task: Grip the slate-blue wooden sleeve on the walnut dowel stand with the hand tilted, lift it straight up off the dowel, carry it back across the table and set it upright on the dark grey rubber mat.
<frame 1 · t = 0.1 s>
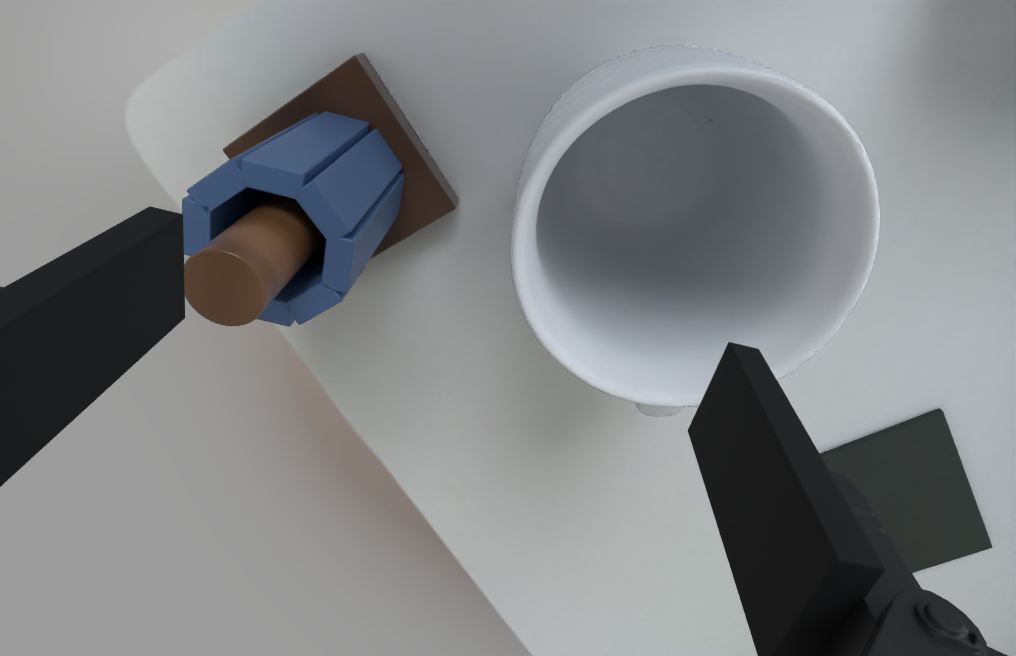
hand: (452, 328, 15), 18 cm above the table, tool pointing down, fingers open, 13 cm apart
dowel stand: (348, 171, 32), on the table
sleeve: (340, 179, 30), point 1 cm above the table, touching dowel stand
mug: (636, 177, 31), on the table
mat: (865, 514, 40), on the table
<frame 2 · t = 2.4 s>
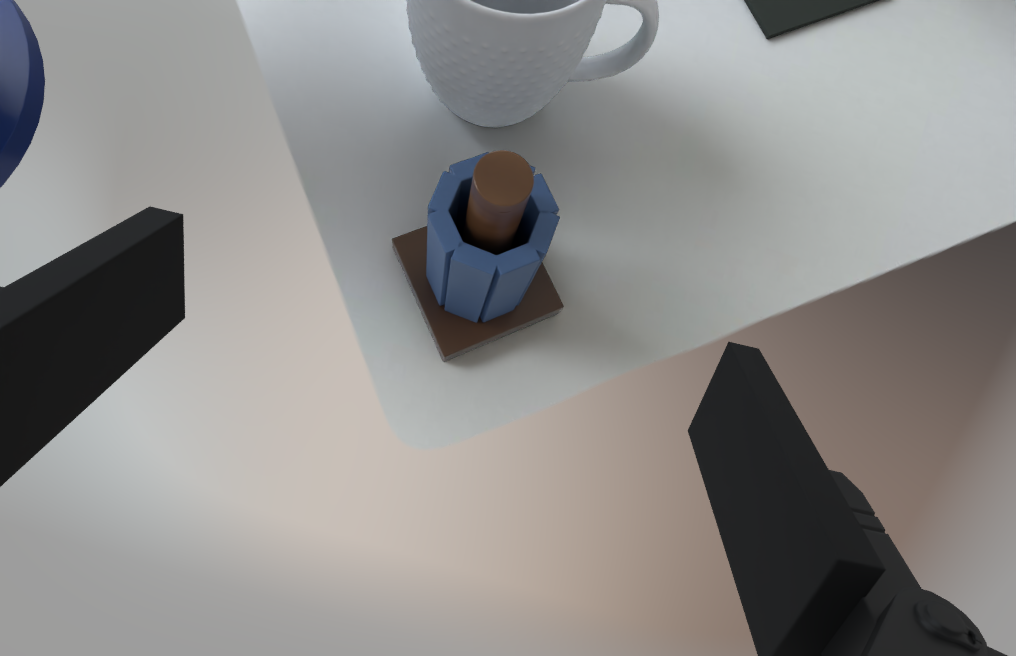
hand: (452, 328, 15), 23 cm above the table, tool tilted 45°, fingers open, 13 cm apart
dowel stand: (476, 280, 40), on the table
sleeve: (478, 272, 39), point 1 cm above the table, touching dowel stand
mug: (503, 88, 44), on the table
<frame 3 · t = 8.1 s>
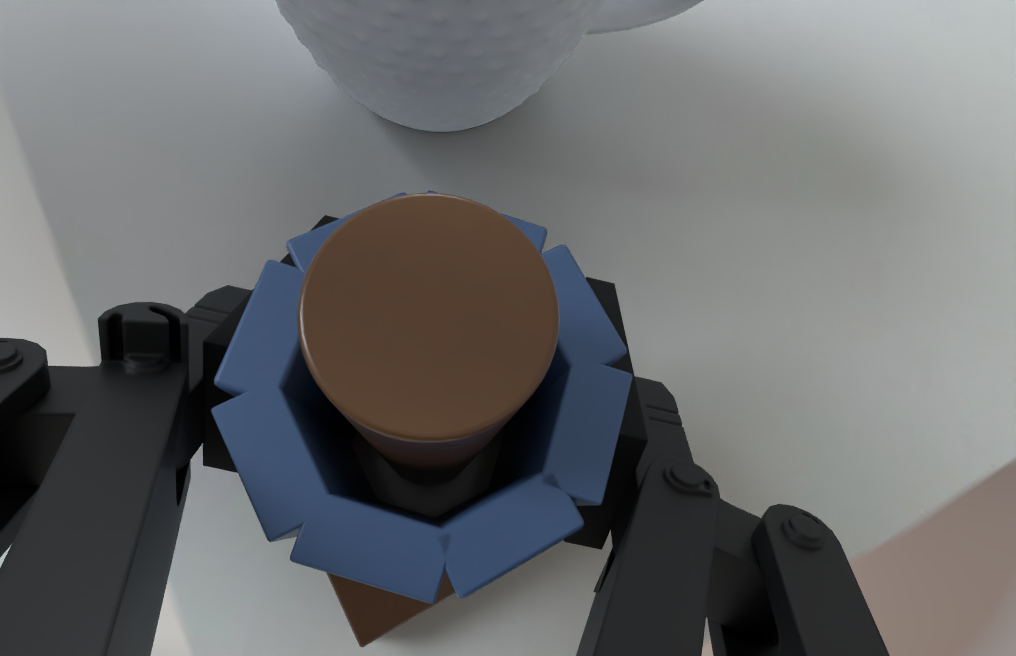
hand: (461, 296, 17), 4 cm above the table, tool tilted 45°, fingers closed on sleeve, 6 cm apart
dowel stand: (429, 444, 20), on the table
sleeve: (429, 439, 18), point 2 cm above the table, touching dowel stand, gripper
mug: (465, 59, 24), on the table
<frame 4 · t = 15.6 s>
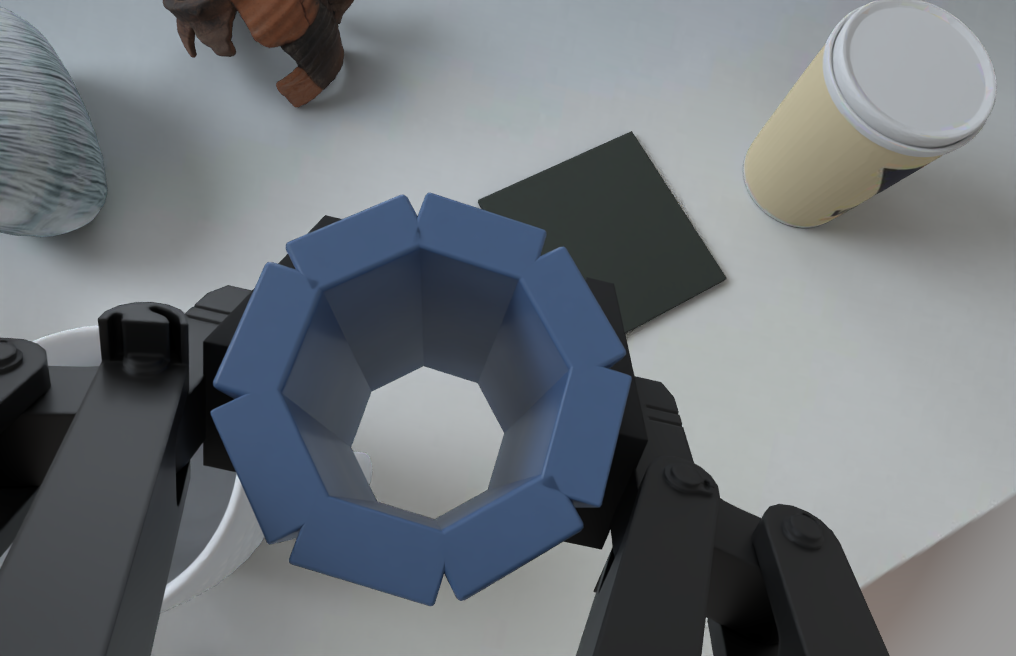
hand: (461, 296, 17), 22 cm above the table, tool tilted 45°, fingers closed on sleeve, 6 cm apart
brown looped piece: (286, 43, 43), on the table
sleeve: (429, 440, 18), point 19 cm above the table, touching gripper
cream lidded canister: (792, 179, 45), on the table
mug: (228, 483, 35), on the table
streaked grey ellipsoid: (40, 159, 39), on the table
mat: (602, 241, 42), on the table
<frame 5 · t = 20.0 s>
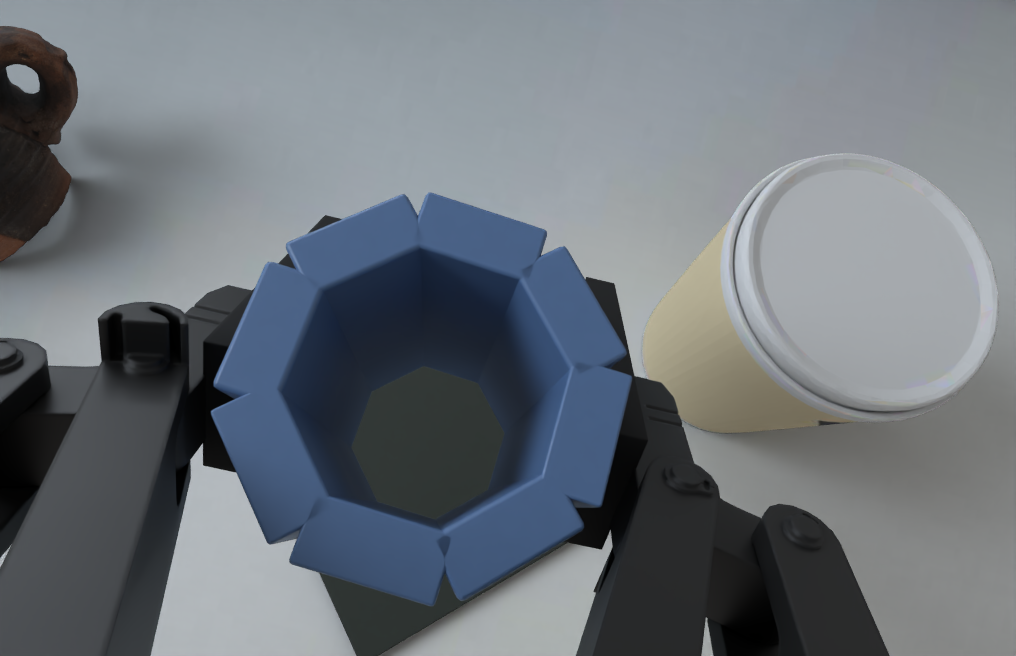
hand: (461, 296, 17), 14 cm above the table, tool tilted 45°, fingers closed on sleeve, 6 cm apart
sleeve: (429, 440, 18), point 11 cm above the table, touching gripper
cream lidded canister: (713, 357, 32), on the table
mat: (427, 463, 29), on the table
when the fingers open (3 cm above the table, at t = 23.3 s): sleeve stays where it is, resting on mat.
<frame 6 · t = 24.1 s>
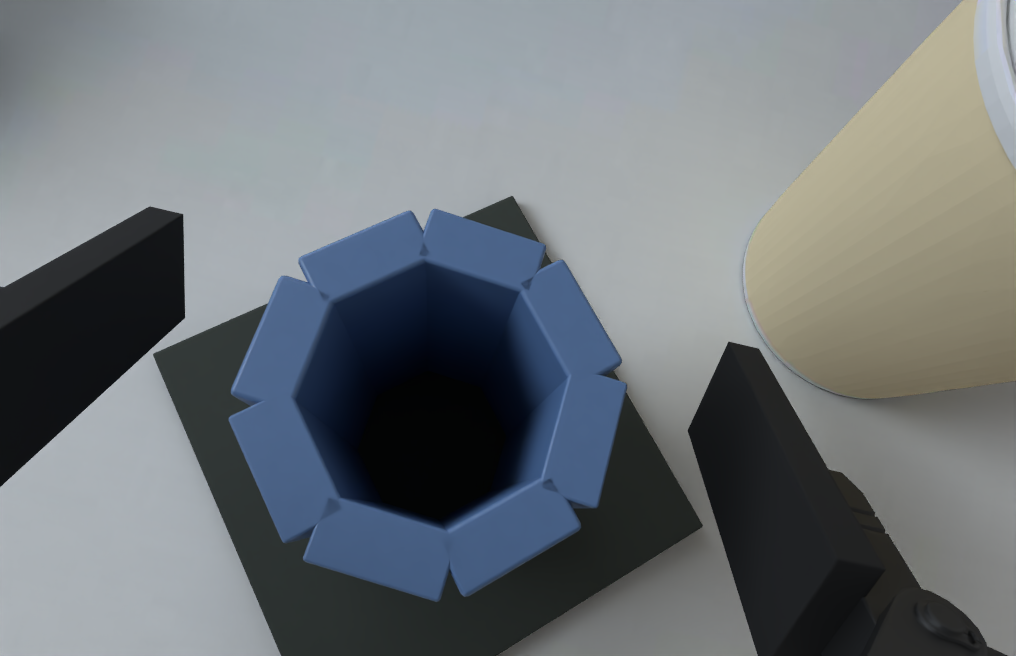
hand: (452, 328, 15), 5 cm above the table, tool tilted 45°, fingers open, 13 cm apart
sleeve: (433, 443, 19), resting on mat
cream lidded canister: (842, 292, 22), on the table
mat: (431, 442, 19), on the table
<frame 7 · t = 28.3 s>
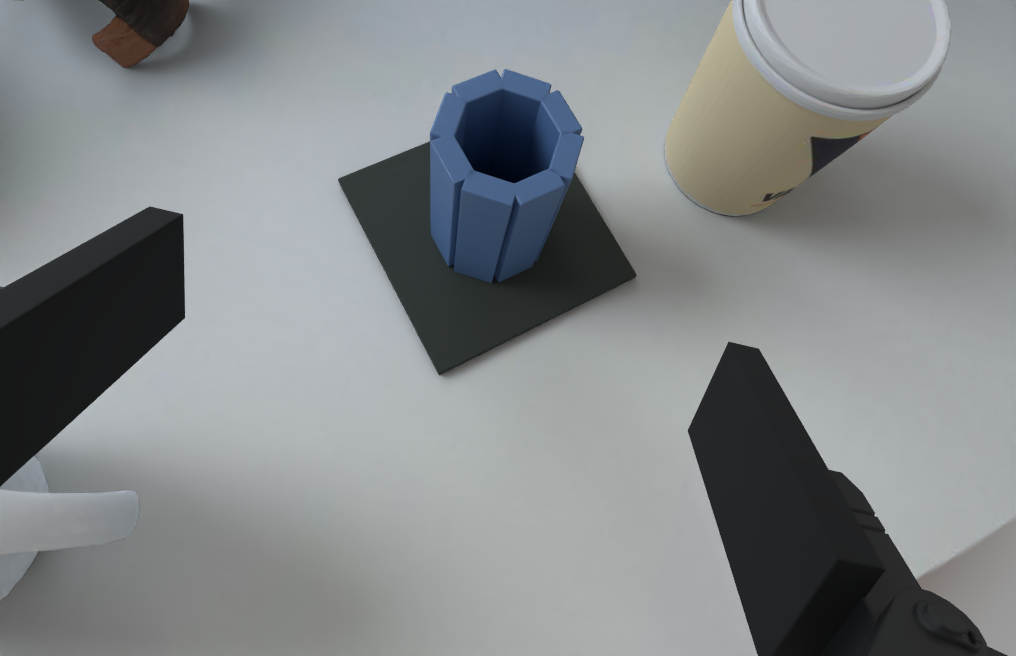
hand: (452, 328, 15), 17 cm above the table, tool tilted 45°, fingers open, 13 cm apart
sleeve: (489, 228, 35), resting on mat
cream lidded canister: (724, 159, 38), on the table
mat: (487, 230, 35), on the table
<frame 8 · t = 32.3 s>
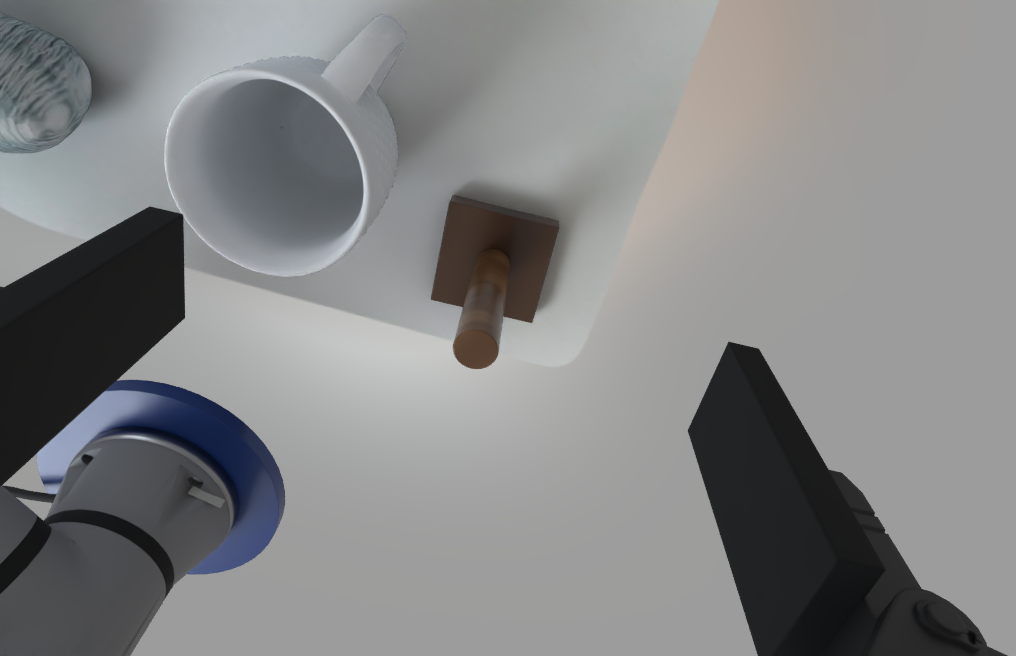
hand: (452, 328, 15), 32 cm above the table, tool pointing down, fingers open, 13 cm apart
dowel stand: (494, 257, 49), on the table
mug: (348, 118, 44), on the table
streaked grey ellipsoid: (14, 68, 44), on the table
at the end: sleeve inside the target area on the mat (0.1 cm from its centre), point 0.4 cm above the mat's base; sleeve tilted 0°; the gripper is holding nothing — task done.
